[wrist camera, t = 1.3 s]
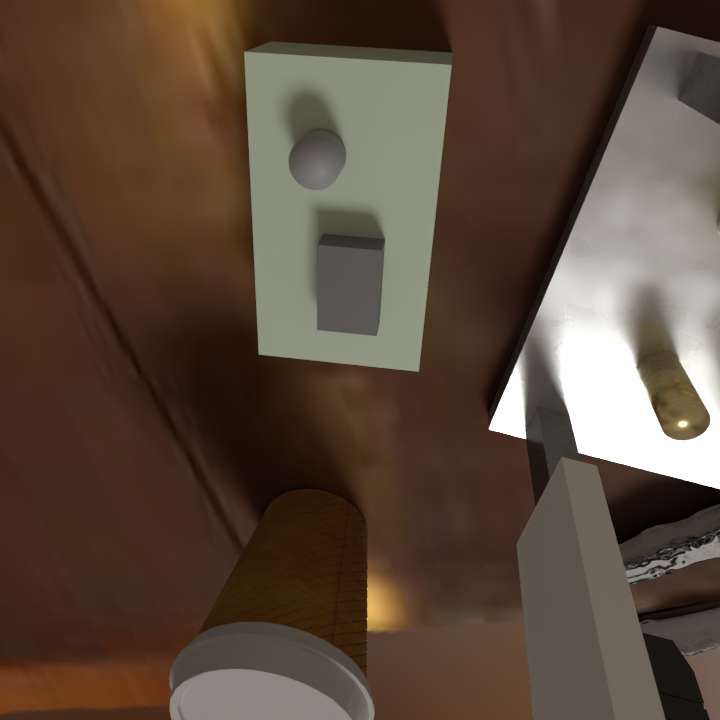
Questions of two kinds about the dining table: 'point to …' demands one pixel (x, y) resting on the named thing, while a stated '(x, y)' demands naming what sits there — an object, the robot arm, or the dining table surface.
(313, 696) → the disposable coffee cup
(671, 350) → the chassis
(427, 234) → the board
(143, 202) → the dining table surface
